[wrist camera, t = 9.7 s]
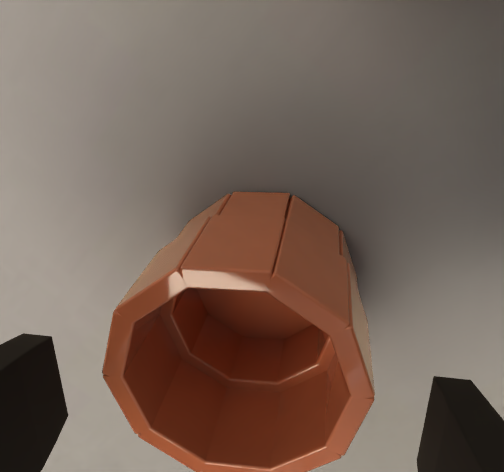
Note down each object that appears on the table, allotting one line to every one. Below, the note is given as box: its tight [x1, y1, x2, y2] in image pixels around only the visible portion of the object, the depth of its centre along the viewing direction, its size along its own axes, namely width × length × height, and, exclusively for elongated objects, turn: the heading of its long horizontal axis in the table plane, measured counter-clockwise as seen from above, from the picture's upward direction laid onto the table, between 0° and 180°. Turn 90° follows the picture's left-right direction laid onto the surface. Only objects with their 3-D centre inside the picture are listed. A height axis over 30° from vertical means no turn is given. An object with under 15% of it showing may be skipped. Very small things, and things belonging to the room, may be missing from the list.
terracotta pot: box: [102, 192, 375, 472], centre depth 11 cm, size 5×5×4 cm
